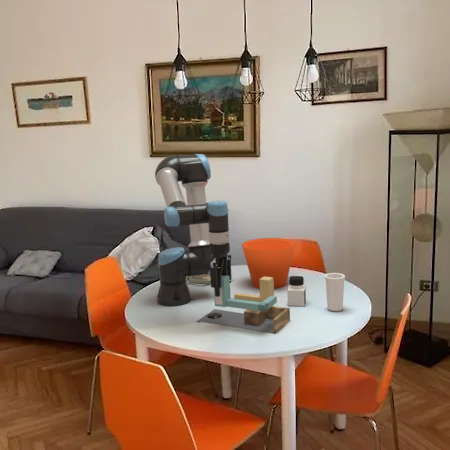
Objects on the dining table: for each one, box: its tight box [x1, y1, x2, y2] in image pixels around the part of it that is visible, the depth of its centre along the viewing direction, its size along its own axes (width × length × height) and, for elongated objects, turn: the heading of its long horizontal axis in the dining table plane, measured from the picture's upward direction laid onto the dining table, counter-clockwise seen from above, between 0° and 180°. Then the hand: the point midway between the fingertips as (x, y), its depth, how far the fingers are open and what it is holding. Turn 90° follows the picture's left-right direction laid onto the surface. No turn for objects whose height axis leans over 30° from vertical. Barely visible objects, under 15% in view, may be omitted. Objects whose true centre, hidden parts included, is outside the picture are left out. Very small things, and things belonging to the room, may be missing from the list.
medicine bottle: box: [286, 274, 307, 307], centre depth 224 cm, size 7×7×12 cm
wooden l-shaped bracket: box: [265, 305, 291, 334], centre depth 203 cm, size 16×13×6 cm
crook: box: [213, 275, 278, 312], centre depth 201 cm, size 20×12×11 cm, turn 61°
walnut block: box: [243, 309, 265, 326], centre depth 205 cm, size 6×6×5 cm
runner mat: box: [196, 309, 282, 335], centre depth 208 cm, size 34×14×1 cm, turn 61°
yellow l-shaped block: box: [233, 277, 275, 302], centre depth 230 cm, size 18×4×11 cm, turn 61°
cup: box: [324, 272, 346, 312], centre depth 215 cm, size 8×8×14 cm
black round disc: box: [206, 313, 222, 319], centre depth 214 cm, size 6×6×1 cm
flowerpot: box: [241, 237, 296, 290], centre depth 252 cm, size 25×25×20 cm
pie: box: [186, 267, 235, 287], centre depth 269 cm, size 28×27×5 cm
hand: (222, 301), depth 202 cm, fingers closed on crook, 4 cm apart
